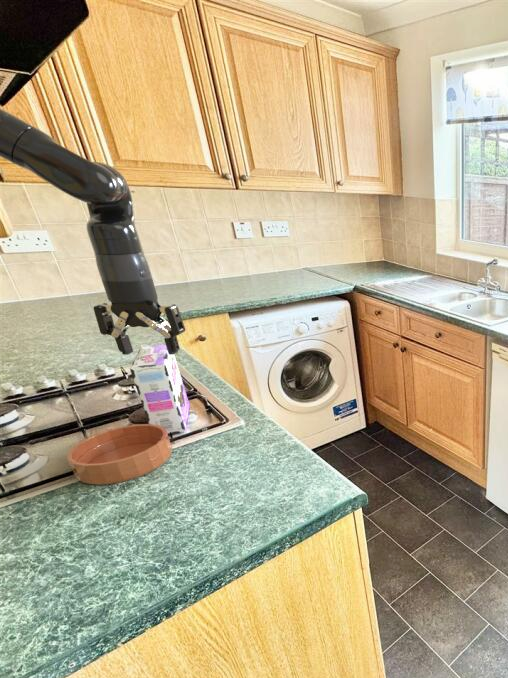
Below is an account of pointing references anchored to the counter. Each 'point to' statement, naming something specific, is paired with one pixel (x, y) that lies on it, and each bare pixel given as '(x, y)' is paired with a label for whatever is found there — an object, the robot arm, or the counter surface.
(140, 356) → the candy box
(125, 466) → the pan
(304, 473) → the counter surface
